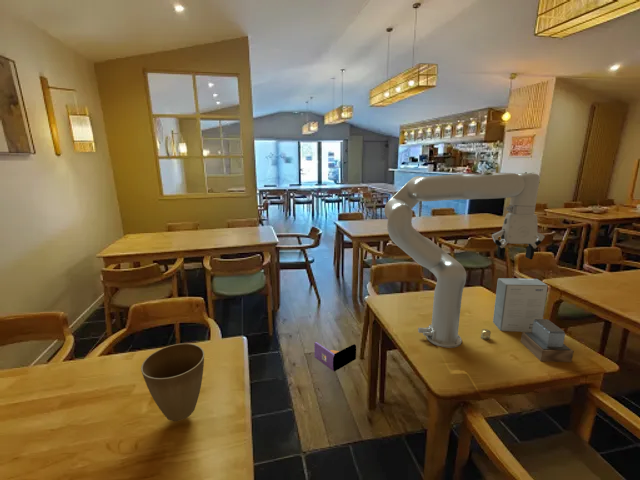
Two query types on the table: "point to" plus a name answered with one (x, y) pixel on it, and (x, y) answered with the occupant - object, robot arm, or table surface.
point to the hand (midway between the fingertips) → (514, 258)
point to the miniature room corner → (335, 356)
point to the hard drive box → (519, 303)
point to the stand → (546, 349)
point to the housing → (548, 333)
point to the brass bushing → (485, 334)
